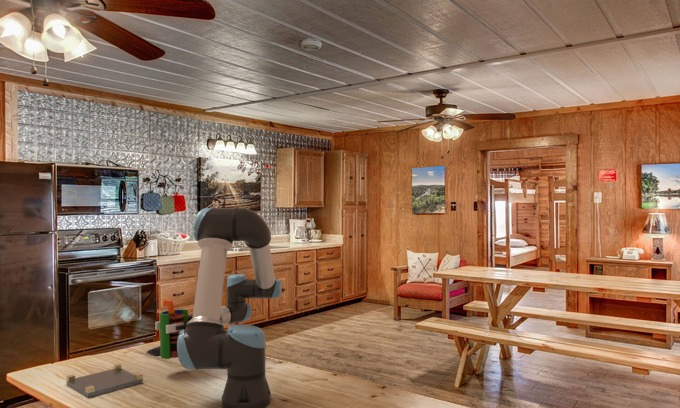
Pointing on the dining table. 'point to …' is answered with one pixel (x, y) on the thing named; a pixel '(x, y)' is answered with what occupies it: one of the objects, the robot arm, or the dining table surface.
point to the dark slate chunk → (154, 351)
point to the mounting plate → (104, 381)
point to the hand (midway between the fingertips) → (161, 327)
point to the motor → (170, 339)
